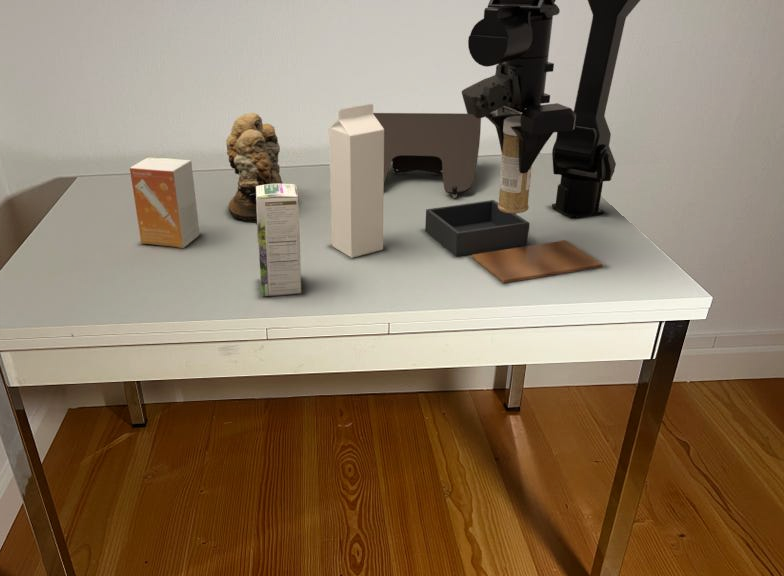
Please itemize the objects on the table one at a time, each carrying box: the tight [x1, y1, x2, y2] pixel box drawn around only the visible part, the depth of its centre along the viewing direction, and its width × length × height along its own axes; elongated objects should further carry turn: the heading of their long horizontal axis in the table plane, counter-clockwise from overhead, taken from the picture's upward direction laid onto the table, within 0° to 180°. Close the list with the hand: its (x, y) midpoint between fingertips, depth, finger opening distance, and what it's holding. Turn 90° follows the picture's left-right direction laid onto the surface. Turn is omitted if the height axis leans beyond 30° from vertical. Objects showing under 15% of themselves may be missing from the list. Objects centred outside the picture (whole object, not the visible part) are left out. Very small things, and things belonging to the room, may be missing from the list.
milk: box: [328, 103, 385, 259], centre depth 115 cm, size 6×6×22 cm
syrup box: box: [255, 183, 302, 297], centre depth 105 cm, size 6×6×14 cm
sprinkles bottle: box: [498, 116, 533, 215], centre depth 110 cm, size 5×5×13 cm
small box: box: [129, 157, 201, 249], centre depth 124 cm, size 8×6×13 cm
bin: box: [424, 199, 530, 257], centre depth 121 cm, size 12×12×4 cm
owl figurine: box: [225, 112, 284, 221], centre depth 135 cm, size 18×12×17 cm, turn 174°
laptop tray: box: [373, 112, 482, 199], centre depth 148 cm, size 23×23×9 cm
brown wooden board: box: [471, 239, 604, 284], centre depth 113 cm, size 16×10×1 cm, turn 106°
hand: (515, 168), depth 110 cm, fingers closed on sprinkles bottle, 4 cm apart
